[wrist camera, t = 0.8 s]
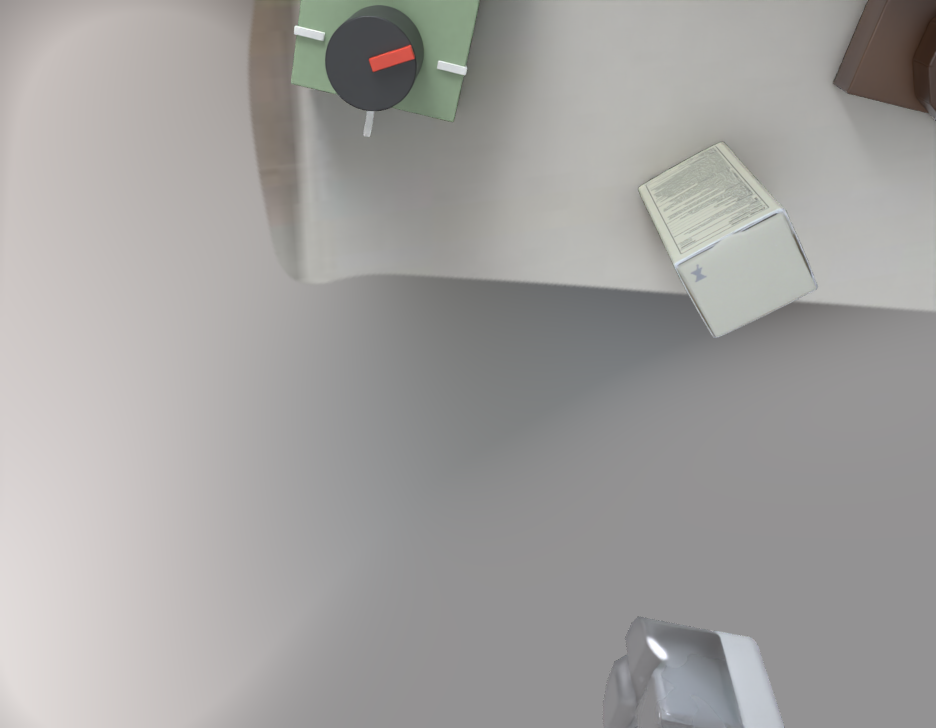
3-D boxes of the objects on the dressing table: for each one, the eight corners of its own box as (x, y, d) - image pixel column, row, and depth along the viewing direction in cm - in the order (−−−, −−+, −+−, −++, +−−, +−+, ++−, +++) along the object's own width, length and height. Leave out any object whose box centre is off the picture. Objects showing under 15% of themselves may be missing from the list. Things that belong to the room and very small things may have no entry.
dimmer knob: (356, 104, 42) (343, 124, 39) (325, 20, 40) (309, 33, 37) (435, 80, 42) (428, 97, 38) (407, -8, 40) (397, 4, 36)
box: (669, 250, 48) (707, 345, 39) (634, 185, 47) (666, 266, 37) (759, 205, 47) (823, 291, 37) (727, 135, 45) (785, 206, 36)
